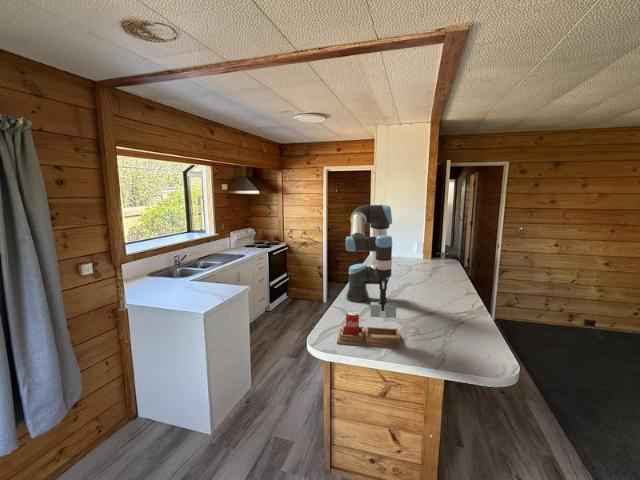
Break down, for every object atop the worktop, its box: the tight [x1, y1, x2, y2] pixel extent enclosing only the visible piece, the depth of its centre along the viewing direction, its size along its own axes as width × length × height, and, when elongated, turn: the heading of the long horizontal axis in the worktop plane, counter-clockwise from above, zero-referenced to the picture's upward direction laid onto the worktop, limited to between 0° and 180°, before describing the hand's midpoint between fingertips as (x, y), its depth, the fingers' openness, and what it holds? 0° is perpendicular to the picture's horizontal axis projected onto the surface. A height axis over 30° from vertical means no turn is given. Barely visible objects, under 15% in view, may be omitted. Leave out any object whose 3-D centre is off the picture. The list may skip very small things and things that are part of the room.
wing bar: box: [370, 301, 397, 319], centre depth 152 cm, size 4×12×6 cm, turn 80°
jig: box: [336, 324, 402, 349], centre depth 155 cm, size 14×30×4 cm, turn 80°
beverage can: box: [345, 310, 360, 336], centre depth 156 cm, size 6×6×12 cm
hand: (382, 314), depth 152 cm, fingers closed on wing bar, 4 cm apart
